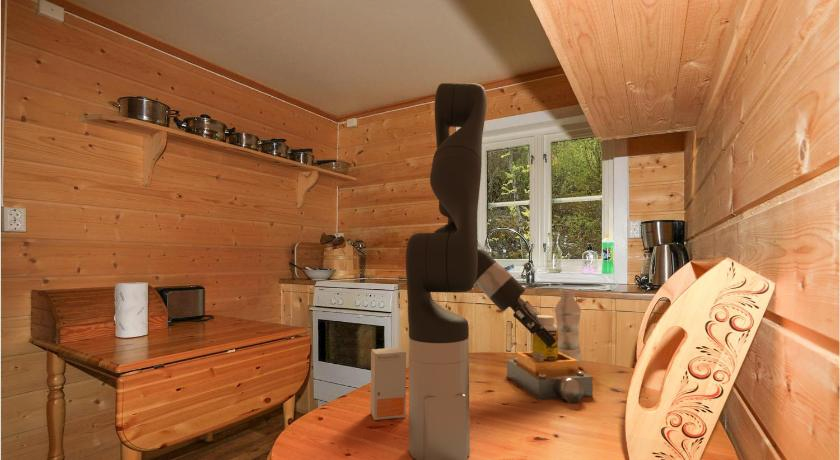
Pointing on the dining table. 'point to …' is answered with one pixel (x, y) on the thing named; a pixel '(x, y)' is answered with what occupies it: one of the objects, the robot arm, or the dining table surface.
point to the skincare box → (388, 383)
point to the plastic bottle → (568, 324)
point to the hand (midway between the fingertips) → (553, 341)
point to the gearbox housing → (550, 377)
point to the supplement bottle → (539, 347)
